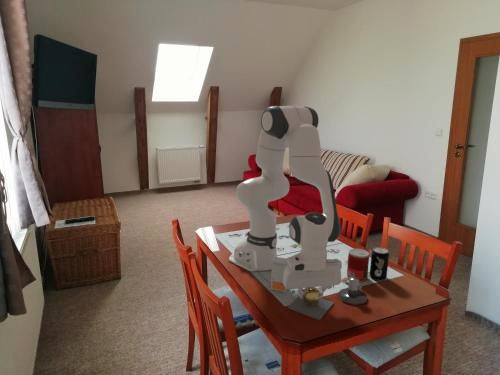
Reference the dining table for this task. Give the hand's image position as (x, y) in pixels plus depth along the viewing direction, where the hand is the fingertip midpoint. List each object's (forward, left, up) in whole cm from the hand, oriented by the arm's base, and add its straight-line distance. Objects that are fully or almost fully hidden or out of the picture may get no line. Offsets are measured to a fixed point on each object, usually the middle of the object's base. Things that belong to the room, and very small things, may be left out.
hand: (311, 296), depth 129 cm
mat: (0, 0, -4) cm, 4 cm away
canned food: (+6, +30, -4) cm, 31 cm away
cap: (0, 0, -1) cm, 1 cm away
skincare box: (-15, +4, -4) cm, 16 cm away
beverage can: (+13, +35, -4) cm, 37 cm away
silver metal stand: (+10, +14, -4) cm, 18 cm away
